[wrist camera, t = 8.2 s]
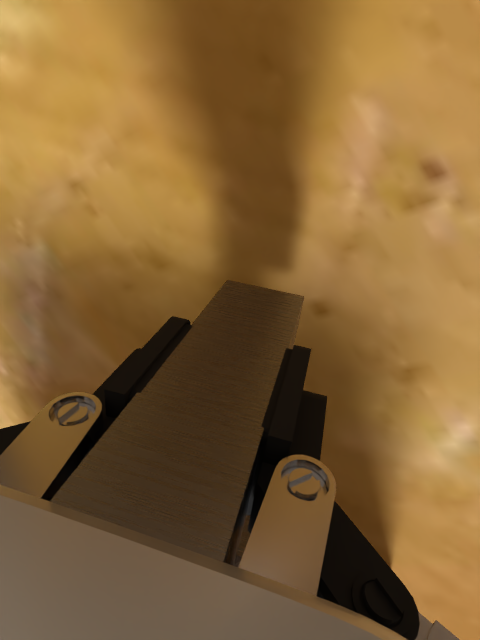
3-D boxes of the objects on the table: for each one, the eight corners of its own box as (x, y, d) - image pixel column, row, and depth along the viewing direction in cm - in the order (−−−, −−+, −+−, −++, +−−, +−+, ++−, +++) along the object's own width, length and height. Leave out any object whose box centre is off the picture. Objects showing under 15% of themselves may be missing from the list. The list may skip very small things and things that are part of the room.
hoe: (202, 274, 15) (-117, 600, 5) (331, 302, 14) (260, 766, 4) (187, 504, 22) (37, 840, 12) (272, 532, 21) (191, 922, 11)
